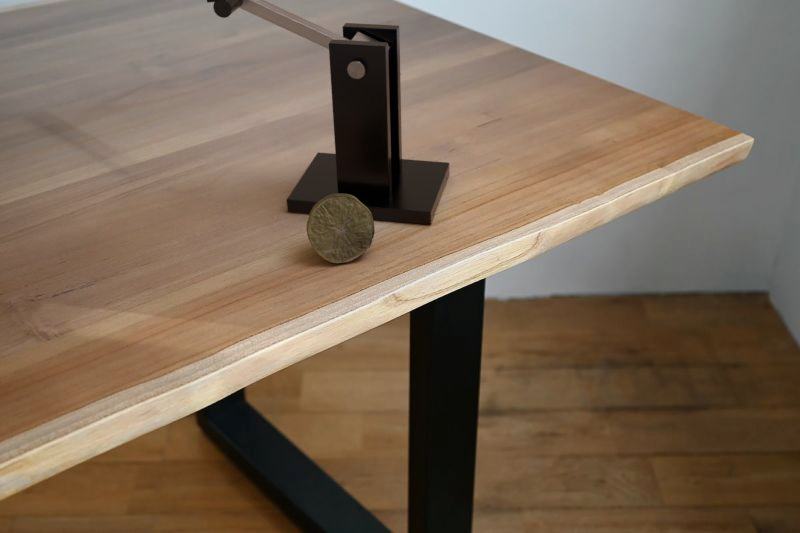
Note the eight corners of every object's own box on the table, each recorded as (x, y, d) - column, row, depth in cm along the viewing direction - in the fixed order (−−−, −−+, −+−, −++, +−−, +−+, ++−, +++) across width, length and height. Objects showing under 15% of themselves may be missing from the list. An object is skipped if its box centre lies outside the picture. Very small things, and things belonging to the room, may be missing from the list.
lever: (209, 18, 69) (217, -11, 67) (237, -5, 74) (245, -32, 72) (367, 91, 69) (378, 64, 68) (385, 64, 74) (395, 38, 73)
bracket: (287, 212, 75) (271, 49, 67) (318, 164, 82) (307, 12, 75) (430, 225, 73) (430, 58, 65) (449, 174, 80) (451, 19, 72)
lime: (383, 252, 69) (381, 194, 67) (336, 277, 66) (332, 218, 64) (344, 232, 72) (340, 175, 69) (297, 255, 69) (291, 198, 66)
